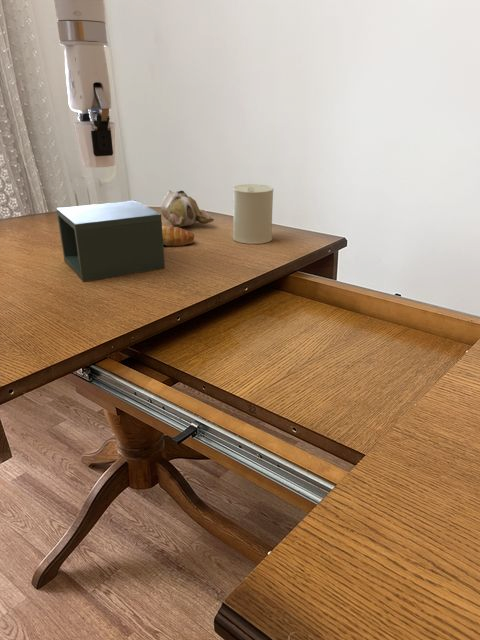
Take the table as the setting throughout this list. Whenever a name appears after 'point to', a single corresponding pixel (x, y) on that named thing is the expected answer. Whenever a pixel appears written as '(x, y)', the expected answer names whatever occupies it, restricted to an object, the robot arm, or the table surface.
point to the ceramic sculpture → (183, 210)
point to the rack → (111, 239)
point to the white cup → (86, 146)
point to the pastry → (176, 236)
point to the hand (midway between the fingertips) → (97, 152)
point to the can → (252, 213)
